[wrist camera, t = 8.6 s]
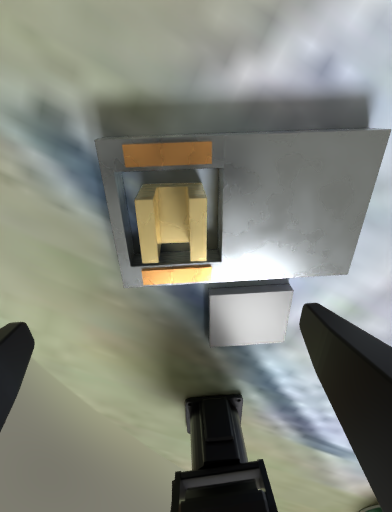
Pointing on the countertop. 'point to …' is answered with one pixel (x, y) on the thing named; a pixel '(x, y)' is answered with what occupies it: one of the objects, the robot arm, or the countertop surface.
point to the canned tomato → (372, 509)
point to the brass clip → (172, 218)
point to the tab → (249, 314)
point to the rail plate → (255, 201)
